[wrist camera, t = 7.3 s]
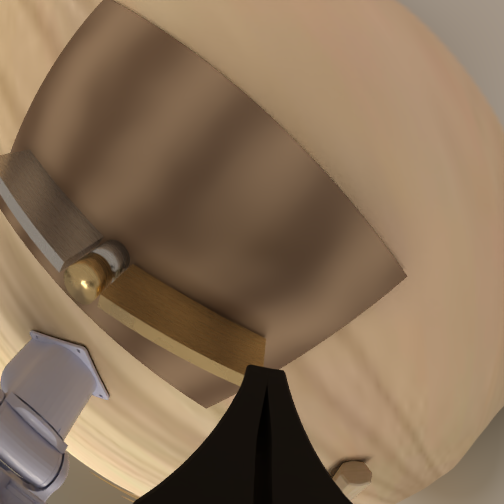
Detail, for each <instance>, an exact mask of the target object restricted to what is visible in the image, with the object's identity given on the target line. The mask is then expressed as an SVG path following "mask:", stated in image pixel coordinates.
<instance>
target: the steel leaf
mask: <svg viewBox="0 0 504 504" xmlns="http://www.w3.org/2000/svg"><path fill="white" fill-rule="evenodd" d="M0 195H1V196H2V198H3V200H4V201H5V203H6V204H7V206H8V207H9V209H10V210H11V212H12V213H13V215H14V216H15V217H16V219H17V220H18V222H19V223H20V224H21V226H22V227H23V229H24V230H25V231H26V233H27V234H28V235H29V237H30V238H31V239H32V240H33V242H34V243H35V244H36V246H37V247H38V248H39V249H40V251H41V252H42V253H43V254H44V256H45V257H46V258H47V259H48V260H49V261H50V263H51V264H52V265H53V266H54V267H55V268H56V270H57V271H58V272H61V271H62V270H64V269H65V268H66V267H68V266H69V265H71V264H72V263H74V262H75V261H76V260H78V259H79V258H81V257H82V256H84V255H85V254H87V253H88V252H90V251H91V250H92V251H91V252H90V253H97V254H99V255H101V256H102V257H104V258H105V260H106V261H107V262H108V264H109V265H110V267H111V270H112V275H113V278H112V282H111V283H113V282H114V281H115V280H116V279H117V278H118V277H119V276H120V275H121V274H122V273H123V272H124V271H126V270H127V269H128V267H129V265H130V256H129V253H128V251H127V249H126V247H125V246H124V245H123V244H122V243H120V242H119V241H117V240H108V241H106V242H105V243H103V244H102V245H100V246H98V245H99V243H100V241H101V240H102V238H103V237H104V236H103V235H102V234H101V233H100V232H99V231H98V230H97V229H96V228H95V227H94V226H93V225H92V224H91V223H90V221H89V220H88V219H87V218H86V217H85V216H84V215H83V214H82V213H81V212H80V210H79V209H78V208H77V207H76V206H75V205H74V204H73V202H72V201H71V200H70V199H69V198H68V197H67V196H66V194H65V193H64V192H63V191H62V190H61V188H60V187H59V186H58V185H57V184H56V182H55V181H54V180H53V179H52V178H51V176H50V175H49V174H48V173H47V171H46V170H45V169H44V168H43V166H42V165H41V164H40V162H39V161H38V160H37V159H36V157H35V156H34V155H33V153H32V152H31V151H30V150H25V151H19V152H14V153H9V154H4V155H0ZM97 246H98V247H97ZM96 247H97V248H96ZM94 248H95V249H94ZM93 249H94V250H93Z"/></svg>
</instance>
